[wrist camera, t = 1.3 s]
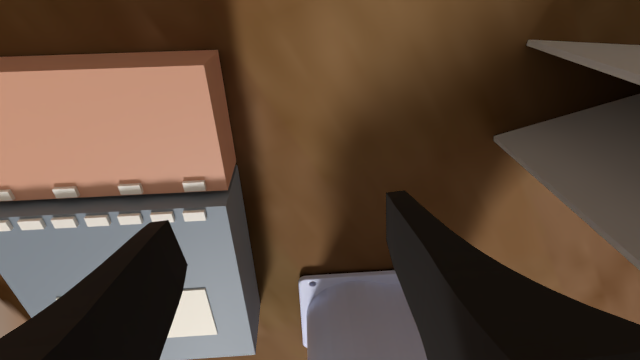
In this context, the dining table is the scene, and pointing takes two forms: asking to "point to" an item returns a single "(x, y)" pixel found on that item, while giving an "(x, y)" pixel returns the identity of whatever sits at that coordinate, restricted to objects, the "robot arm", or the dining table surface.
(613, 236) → the tall gray slab
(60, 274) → the grey tabbed panel
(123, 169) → the stub
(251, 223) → the dining table surface
